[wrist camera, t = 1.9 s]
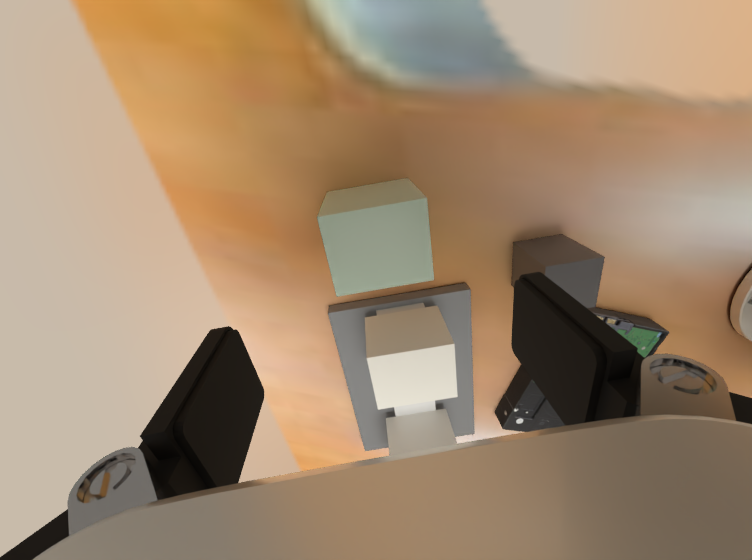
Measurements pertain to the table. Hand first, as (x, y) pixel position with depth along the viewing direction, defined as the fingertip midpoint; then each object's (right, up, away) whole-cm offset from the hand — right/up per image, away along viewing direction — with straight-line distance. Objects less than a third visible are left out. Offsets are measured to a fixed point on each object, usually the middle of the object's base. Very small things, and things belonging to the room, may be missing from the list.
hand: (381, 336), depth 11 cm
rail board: (+3, -7, +21) cm, 22 cm away
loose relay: (+13, +4, +16) cm, 21 cm away
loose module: (0, +7, +14) cm, 15 cm away
